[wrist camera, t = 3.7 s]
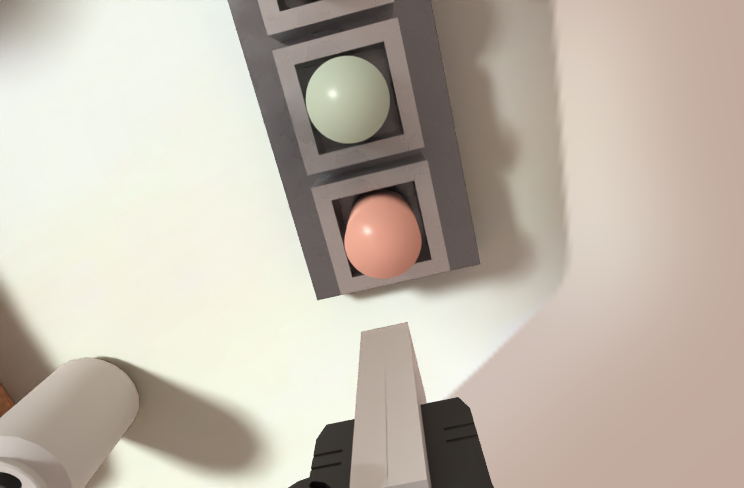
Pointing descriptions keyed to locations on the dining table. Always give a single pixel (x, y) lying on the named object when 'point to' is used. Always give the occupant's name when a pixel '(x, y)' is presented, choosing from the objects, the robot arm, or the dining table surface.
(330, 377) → the dining table surface
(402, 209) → the button coral
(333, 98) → the button sage
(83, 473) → the can
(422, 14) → the console
